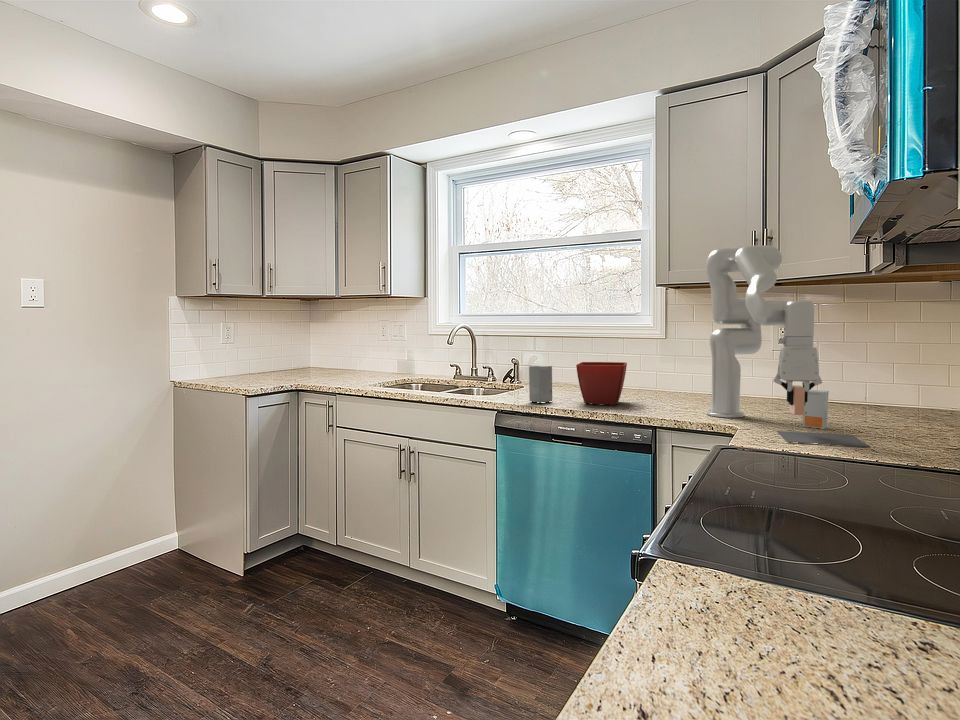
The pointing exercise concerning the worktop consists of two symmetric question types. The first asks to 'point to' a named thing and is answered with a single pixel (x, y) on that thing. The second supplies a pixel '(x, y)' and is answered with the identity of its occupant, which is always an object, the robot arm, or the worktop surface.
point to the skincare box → (816, 409)
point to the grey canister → (540, 383)
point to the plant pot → (601, 381)
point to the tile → (798, 400)
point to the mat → (822, 438)
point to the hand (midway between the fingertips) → (796, 404)
